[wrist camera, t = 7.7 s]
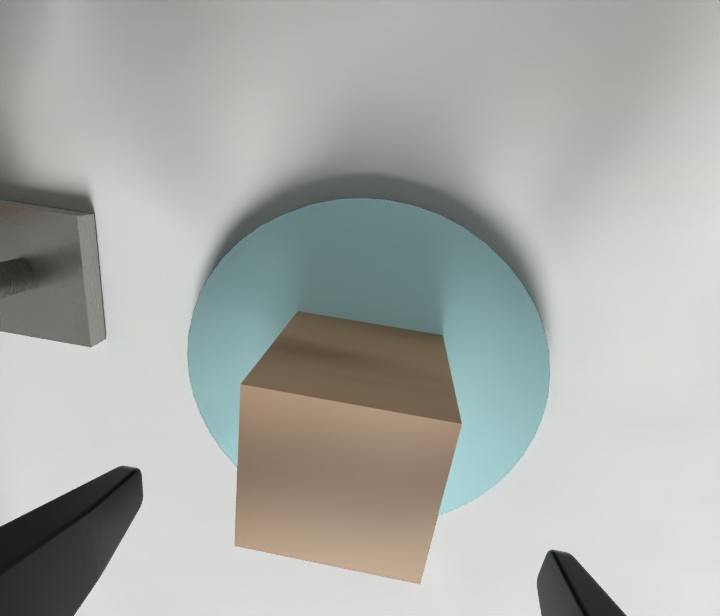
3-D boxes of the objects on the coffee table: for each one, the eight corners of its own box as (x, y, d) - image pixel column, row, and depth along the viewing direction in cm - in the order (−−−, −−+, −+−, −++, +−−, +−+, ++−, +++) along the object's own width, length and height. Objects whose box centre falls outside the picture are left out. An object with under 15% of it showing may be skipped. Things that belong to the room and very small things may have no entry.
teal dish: (491, 531, 17) (496, 552, 16) (201, 474, 18) (189, 491, 17) (590, 228, 13) (605, 232, 12) (199, 171, 13) (184, 171, 13)
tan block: (416, 455, 15) (419, 584, 10) (287, 431, 15) (234, 545, 11) (442, 335, 13) (461, 424, 9) (298, 310, 14) (240, 384, 9)
